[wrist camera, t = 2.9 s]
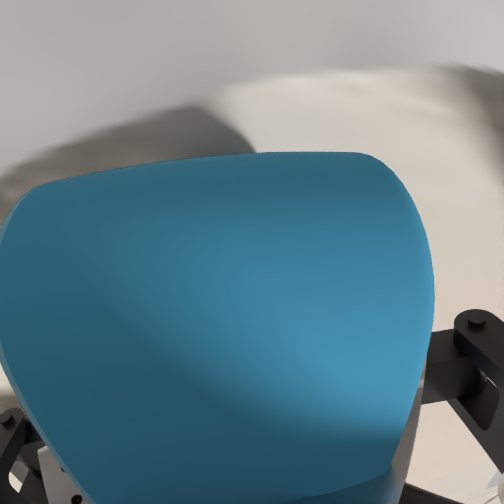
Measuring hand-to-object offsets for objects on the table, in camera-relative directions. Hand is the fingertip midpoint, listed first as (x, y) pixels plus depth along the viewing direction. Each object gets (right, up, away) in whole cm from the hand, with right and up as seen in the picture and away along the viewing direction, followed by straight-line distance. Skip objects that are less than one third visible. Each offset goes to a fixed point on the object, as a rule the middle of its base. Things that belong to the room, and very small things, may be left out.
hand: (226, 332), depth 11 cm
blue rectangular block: (0, +1, +4) cm, 4 cm away
